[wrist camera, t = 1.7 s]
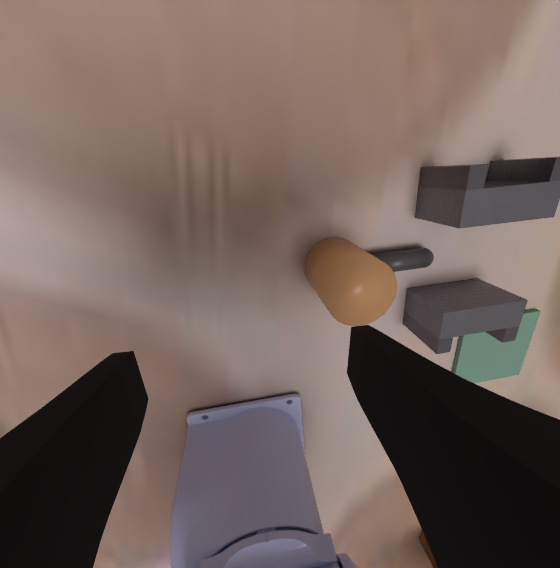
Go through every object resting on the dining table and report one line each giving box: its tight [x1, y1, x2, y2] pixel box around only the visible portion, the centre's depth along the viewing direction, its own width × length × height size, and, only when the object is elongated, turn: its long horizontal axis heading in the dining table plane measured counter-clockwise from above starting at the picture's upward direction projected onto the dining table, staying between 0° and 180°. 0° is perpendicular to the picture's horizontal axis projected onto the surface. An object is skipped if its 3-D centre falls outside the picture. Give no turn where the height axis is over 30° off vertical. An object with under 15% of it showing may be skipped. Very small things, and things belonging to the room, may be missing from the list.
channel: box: [403, 157, 560, 354], centre depth 18 cm, size 6×12×4 cm, turn 4°
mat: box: [452, 309, 540, 383], centre depth 24 cm, size 7×7×1 cm
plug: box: [305, 237, 434, 326], centre depth 17 cm, size 9×4×5 cm, turn 94°
